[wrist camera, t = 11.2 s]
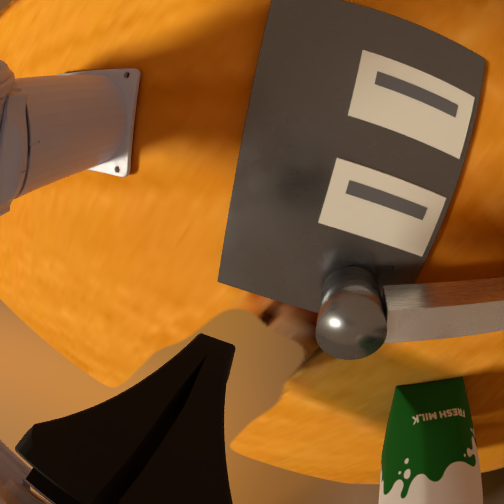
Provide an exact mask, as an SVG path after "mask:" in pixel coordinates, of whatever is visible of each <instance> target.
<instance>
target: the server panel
mask: <svg viewBox="0 0 504 504" xmlns="http://www.w3.org/2000/svg"><path fill="white" fill-rule="evenodd" d="M362 50H365V51H368V52H372V53H375V54H378V55H381V56H384V57H386V58H389V59H392V60H395V61H398V62H400V63H403V64H405V65H408V66H410V67H413V68H415V69H418V70H420V71H422V72H425V73H427V74H429V75H432V76H434V77H436V78H438V79H440V80H442V81H444V82H446V83H449V84H451V85H453V86H454V87H456V88H458V89H460V90H462V91H464V92H466V93H468V94H470V95H471V96H473V97H475V98H474V103H473V108H472V113H471V117H470V122H469V126H468V130H467V134H466V137H465V141H464V145H463V148H462V152H461V155H460V159H458V158H456V157H454V156H452V155H450V154H447V153H445V152H443V151H441V150H439V149H437V148H434V147H432V146H430V145H427V144H425V143H423V142H420V141H418V140H416V139H413V138H411V137H408V136H406V135H403V134H401V133H398V132H395V131H393V130H390V129H387V128H384V127H382V126H379V125H376V124H373V123H370V122H367V121H364V120H361V119H358V118H355V117H351V116H348V112H349V108H350V104H351V100H352V95H353V91H354V87H355V82H356V78H357V73H358V69H359V64H360V59H361V54H362ZM485 61H486V59H485V58H483V57H481V56H480V55H478V54H476V53H474V52H473V51H471V50H469V49H467V48H465V47H464V46H462V45H460V44H458V43H456V42H454V41H452V40H450V39H448V38H446V37H444V36H442V35H440V34H438V33H435V32H433V31H431V30H429V29H426V28H424V27H422V26H419V25H417V24H414V23H412V22H409V21H407V20H404V19H401V18H399V17H396V16H393V15H390V14H387V13H384V12H381V11H378V10H375V9H372V8H368V7H365V6H361V5H357V4H354V3H350V2H346V1H342V0H272V1H271V5H270V9H269V13H268V18H267V22H266V27H265V31H264V35H263V40H262V44H261V49H260V53H259V58H258V63H257V67H256V72H255V77H254V82H253V86H252V91H251V96H250V101H249V106H248V111H247V116H246V121H245V126H244V131H243V137H242V142H241V147H240V153H239V158H238V163H237V169H236V174H235V180H234V185H233V191H232V197H231V202H230V208H229V214H228V220H227V226H226V232H225V238H224V244H223V250H222V257H221V263H220V269H219V276H218V282H220V283H223V284H226V285H229V286H232V287H235V288H239V289H242V290H245V291H248V292H251V293H254V294H257V295H261V296H264V297H267V298H270V299H273V300H277V301H280V302H283V303H286V304H290V305H293V306H296V307H300V308H303V309H306V310H310V311H313V312H317V313H318V311H319V303H320V295H321V288H322V285H323V283H324V281H325V279H326V278H327V277H328V276H329V275H330V274H331V273H333V272H334V271H336V270H338V269H341V268H344V267H360V268H363V269H366V270H367V271H369V272H371V273H372V274H373V275H374V276H375V277H376V279H377V280H378V282H379V285H380V290H381V296H382V294H383V286H385V285H405V284H414V283H415V281H416V279H417V277H418V275H419V273H420V271H421V269H422V267H423V265H424V263H425V260H426V258H427V256H428V254H429V252H430V250H431V247H432V245H433V243H434V241H435V238H436V236H437V234H438V231H439V229H440V227H441V224H442V222H443V219H444V217H445V214H446V212H447V209H448V207H449V204H450V201H451V199H452V196H453V193H454V190H455V187H456V185H457V182H458V179H459V176H460V173H461V169H462V166H463V163H464V160H465V156H466V153H467V149H468V146H469V142H470V139H471V135H472V131H473V127H474V122H475V118H476V114H477V109H478V104H479V99H480V94H481V88H482V82H483V76H484V69H485ZM337 157H338V158H341V159H344V160H348V161H351V162H354V163H357V164H360V165H363V166H366V167H369V168H372V169H375V170H378V171H381V172H383V173H386V174H389V175H392V176H394V177H397V178H400V179H402V180H405V181H408V182H410V183H413V184H415V185H418V186H420V187H423V188H425V189H428V190H430V191H432V192H435V193H437V194H440V195H442V196H444V197H446V200H445V203H444V206H443V208H442V211H441V214H440V216H439V219H438V221H437V224H436V226H435V228H434V231H433V233H432V236H431V238H430V240H429V242H428V245H427V247H426V249H425V251H424V254H423V256H422V257H421V256H419V255H416V254H413V253H410V252H407V251H404V250H401V249H398V248H395V247H393V246H390V245H387V244H384V243H381V242H378V241H375V240H371V239H368V238H365V237H362V236H359V235H356V234H353V233H350V232H347V231H343V230H340V229H337V228H334V227H330V226H327V225H324V224H321V223H318V221H319V218H320V215H321V211H322V208H323V205H324V201H325V198H326V194H327V191H328V187H329V184H330V180H331V177H332V173H333V170H334V166H335V162H336V159H337Z"/></svg>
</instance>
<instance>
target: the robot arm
mask: <svg viewBox="0 0 504 504" xmlns="http://www.w3.org/2000/svg"><path fill="white" fill-rule="evenodd" d="M128 73H129V77H128V78H127V74H128ZM140 76H141V72H140V70H139V69H136V68H125V69H105V70H92V71H81V72H72V73H65V74H58V75H55V76H39V77H27V78H18V79H15V76H14V73H13V72H12V71H11V70H10V69H9V67H8V65H7V64H6V63H5V62H3V61H1V60H0V216H1V215H3V214H5V213H7V212H9V210H10V204H11V202H12V200H13V199H16V198H18V197H20V196H22V195H24V194H27V193H29V192H31V191H33V190H36V189H38V188H40V187H43V186H45V185H48V184H50V183H52V182H55V181H57V180H60V179H62V178H65V177H68V176H70V175H73V174H76V173H78V172H81V171H84V170H87V169H88V170H92V171H97V172H102V173H106V174H111V175H115V176H120V177H126V176H128V175H129V174H130V169H131V153H132V141H133V130H134V121H135V112H136V104H137V96H138V89H139V83H140ZM118 167H119V168H120V171H119V170H118ZM234 353H235V346H234V345H233V344H230V343H227V342H224V341H221V340H218V339H216V338H213V337H210V336H207V335H204V334H202V333H201V334H198V335H197V336H196V337H195V338H194V339H193V340H192V341H191V342H190V343H189V344H188V345H187V346H186V347H185V348H184V349H183V350H181V351H180V352H179V353H178V354H177V355H176V356H174V357H173V358H172V359H171V360H170V361H168V362H167V363H166V364H164V365H163V366H162V367H161V368H159V369H158V370H157V371H156V372H154V373H152V374H151V375H149V376H148V377H146V378H145V379H143V380H142V381H141V382H139V383H138V384H136V385H134V386H133V387H131V388H129V389H128V390H126V391H125V392H122V393H120V394H119V395H117V396H115V397H113V398H111V399H109V400H107V401H105V402H103V403H100V404H98V405H96V406H94V407H91V408H89V409H86V410H83V411H80V412H78V413H75V414H72V415H69V416H66V417H63V418H59V419H55V420H51V421H46V422H42V423H38V424H35V425H33V427H32V428H30V429H29V430H28V431H27V432H26V434H25V435H24V436H23V438H22V439H21V440H20V441H19V443H18V444H17V445H16V447H15V450H16V452H17V453H18V454H19V455H20V456H21V457H23V459H24V460H26V461H27V462H28V463H29V464H30V465H31V466H32V467H33V469H31V468H30V467H28V466H27V465H26V464H25V463H24V462H23V461H22V460H21V459H20V458H18V457H17V456H16V455H15V454H14V453H13V452H12V451H11V450H10V449H9V448H8V447H7V446H6V445H5V444H4V443H3V442H2V441H1V440H0V504H51V503H52V504H232V498H231V493H230V487H229V481H228V473H227V466H226V455H225V441H224V404H225V392H226V383H227V380H228V377H229V374H230V369H231V365H232V361H233V357H234ZM30 486H31V487H32V488H33V489H34V490H35V491H37V492H38V493H39V494H40V495H42V496H43V497H44V498H45V499H47V500H48V501H49V502H50V503H49V502H48V501H46V500H45V499H43V498H42V497H40V496H38V495H37V494H36V493H34V492H33V491H31V490H30Z"/></svg>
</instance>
